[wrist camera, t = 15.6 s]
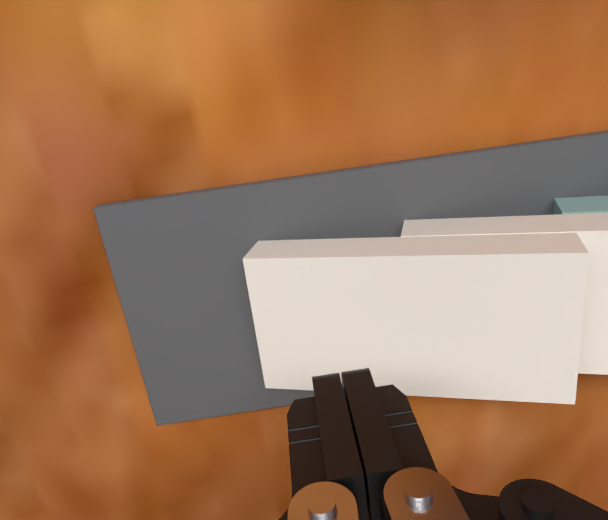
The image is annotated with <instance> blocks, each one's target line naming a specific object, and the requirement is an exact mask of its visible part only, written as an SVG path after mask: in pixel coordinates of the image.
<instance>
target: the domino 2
mask: <svg viewBox="0 0 608 520" xmlns="http://www.w3.org/2000/svg"><path fill="white" fill-rule="evenodd" d="M562 232H576V233H577V235H578V236H579V238H580V239H581V241H582V243H583V244H584V246H585V247H586V249H587V251H588V252H589V257H588V268H587V279H586V290H585V301H584V312H583V323H582V334H581V345H580V355H579V366H578V374H604V375H608V213H586V214H558V215H530V216H502V217H474V218H446V219H418V220H404V223H403V228H402V233H401V237H413V236H451V235H488V234H525V233H562Z"/></svg>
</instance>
